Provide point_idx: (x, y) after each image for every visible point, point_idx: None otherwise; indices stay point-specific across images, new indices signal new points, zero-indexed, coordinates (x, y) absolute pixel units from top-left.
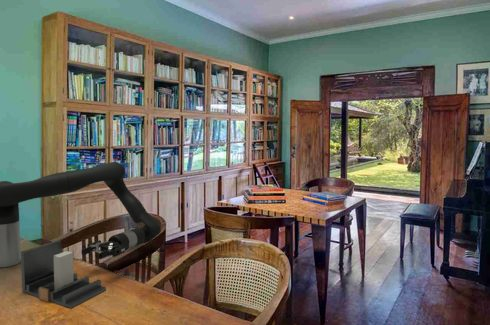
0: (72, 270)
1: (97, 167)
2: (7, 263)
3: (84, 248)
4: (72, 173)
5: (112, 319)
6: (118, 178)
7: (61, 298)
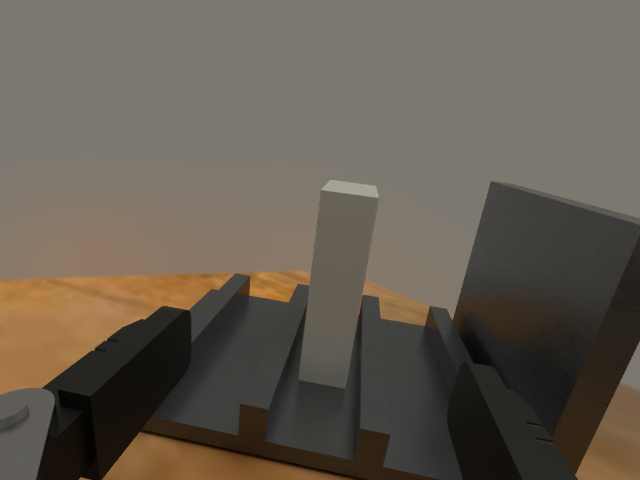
0: (309, 295)
1: None
2: None
3: (499, 388)
4: None
5: (46, 280)
6: None
7: (271, 309)
